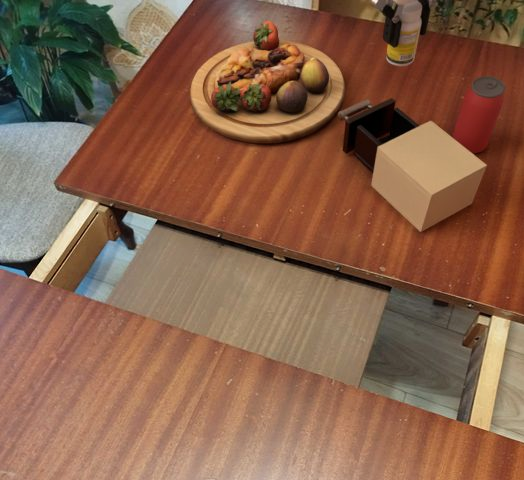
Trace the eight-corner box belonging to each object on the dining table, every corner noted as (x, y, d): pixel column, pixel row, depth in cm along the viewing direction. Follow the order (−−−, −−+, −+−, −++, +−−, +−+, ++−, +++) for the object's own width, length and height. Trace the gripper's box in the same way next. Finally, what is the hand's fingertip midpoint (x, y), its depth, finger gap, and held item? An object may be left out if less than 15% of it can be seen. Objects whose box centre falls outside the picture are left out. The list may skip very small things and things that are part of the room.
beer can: (494, 146, 102) (517, 87, 92) (468, 160, 100) (488, 103, 90) (468, 127, 105) (488, 69, 94) (443, 141, 103) (460, 83, 93)
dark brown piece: (328, 137, 104) (330, 105, 98) (371, 116, 106) (375, 84, 101) (384, 189, 96) (390, 159, 91) (429, 166, 99) (438, 135, 93)
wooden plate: (218, 41, 123) (214, 3, 116) (357, 58, 118) (362, 19, 110) (169, 133, 108) (160, 96, 101) (325, 157, 102) (328, 119, 95)
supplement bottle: (394, 47, 92) (403, -6, 84) (419, 55, 90) (430, 2, 83) (380, 61, 90) (387, 8, 83) (405, 70, 88) (415, 17, 81)
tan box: (371, 185, 98) (377, 146, 91) (420, 160, 101) (430, 120, 94) (420, 232, 92) (431, 194, 85) (471, 203, 95) (487, 165, 88)
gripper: (394, -71, 68) (375, 67, 83) (497, -110, 71) (460, 29, 87) (358, -93, 71) (346, 44, 87) (458, -129, 75) (430, 9, 90)
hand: (404, 36), depth 87 cm, fingers closed on supplement bottle, 4 cm apart
